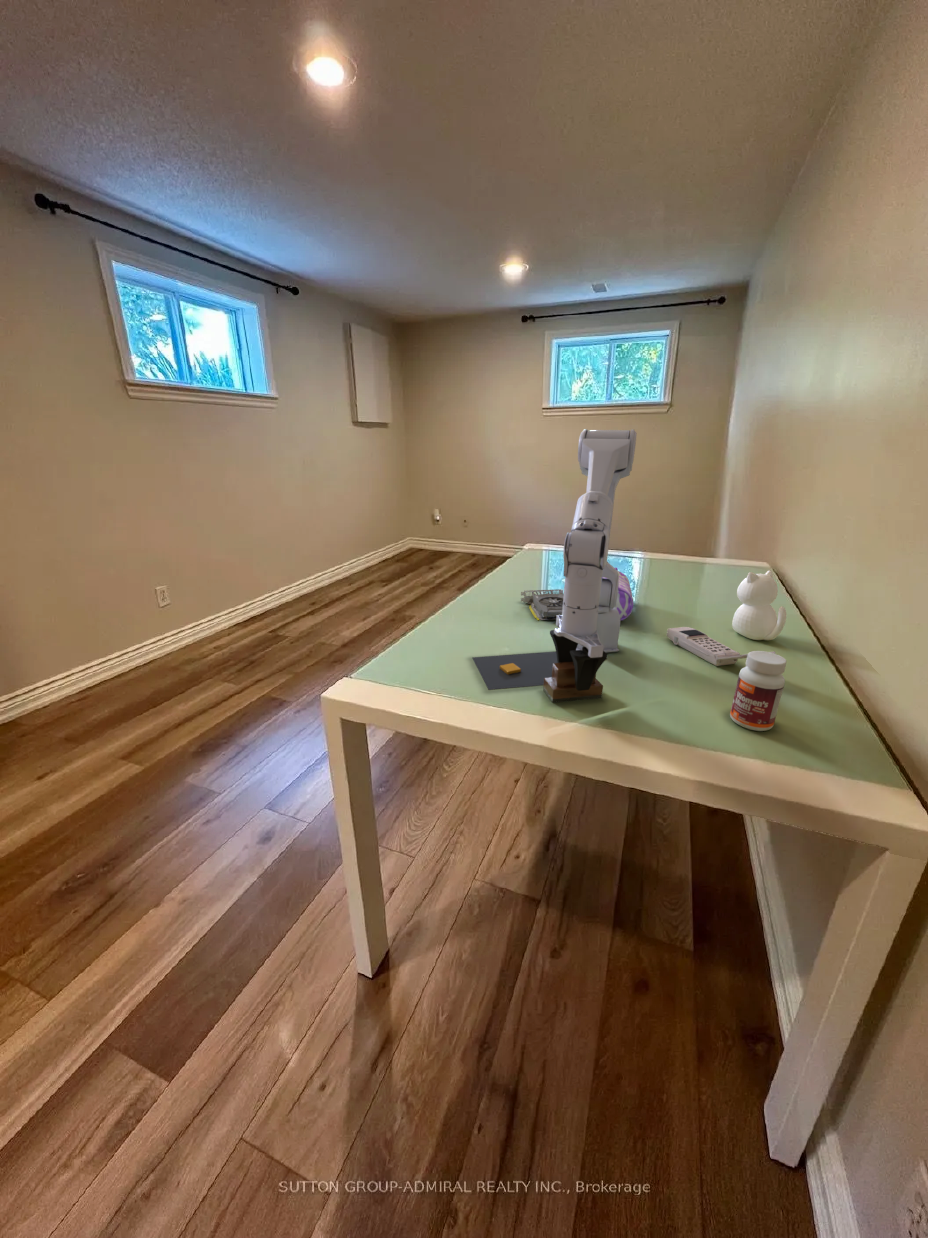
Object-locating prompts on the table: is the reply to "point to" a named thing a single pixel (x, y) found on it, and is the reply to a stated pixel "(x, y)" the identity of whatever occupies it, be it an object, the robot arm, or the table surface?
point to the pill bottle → (759, 691)
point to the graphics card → (544, 603)
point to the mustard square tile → (510, 668)
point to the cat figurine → (758, 608)
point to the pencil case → (624, 597)
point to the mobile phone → (704, 646)
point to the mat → (530, 675)
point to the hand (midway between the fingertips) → (573, 679)
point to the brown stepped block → (568, 685)
